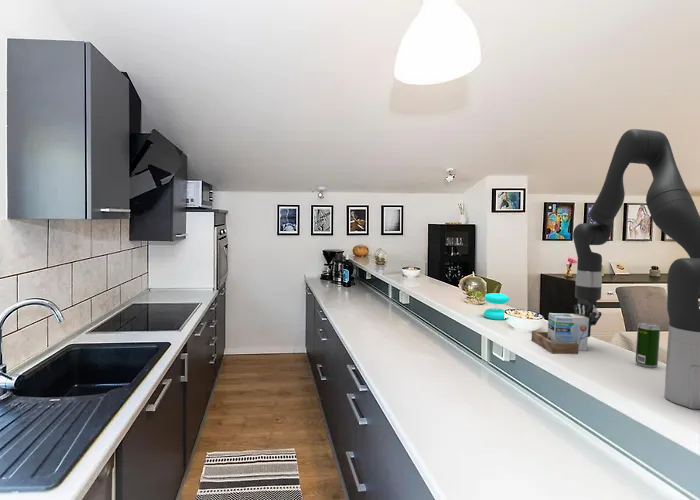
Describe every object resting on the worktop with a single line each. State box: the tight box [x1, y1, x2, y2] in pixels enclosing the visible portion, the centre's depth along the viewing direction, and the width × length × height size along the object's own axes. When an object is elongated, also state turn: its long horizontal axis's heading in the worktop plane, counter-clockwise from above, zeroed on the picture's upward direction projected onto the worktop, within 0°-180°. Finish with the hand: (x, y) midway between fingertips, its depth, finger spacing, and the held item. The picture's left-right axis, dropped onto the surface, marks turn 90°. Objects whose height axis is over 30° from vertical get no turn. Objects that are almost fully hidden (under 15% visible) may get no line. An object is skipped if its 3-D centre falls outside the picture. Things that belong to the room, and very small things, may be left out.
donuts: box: [483, 292, 510, 321], centre depth 189 cm, size 10×10×10 cm
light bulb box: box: [547, 312, 589, 352], centre depth 145 cm, size 11×7×11 cm, turn 86°
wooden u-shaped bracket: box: [530, 331, 579, 355], centre depth 146 cm, size 15×8×3 cm, turn 1°
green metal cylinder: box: [635, 322, 661, 369], centre depth 128 cm, size 5×5×12 cm
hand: (585, 336), depth 146 cm, fingers closed
